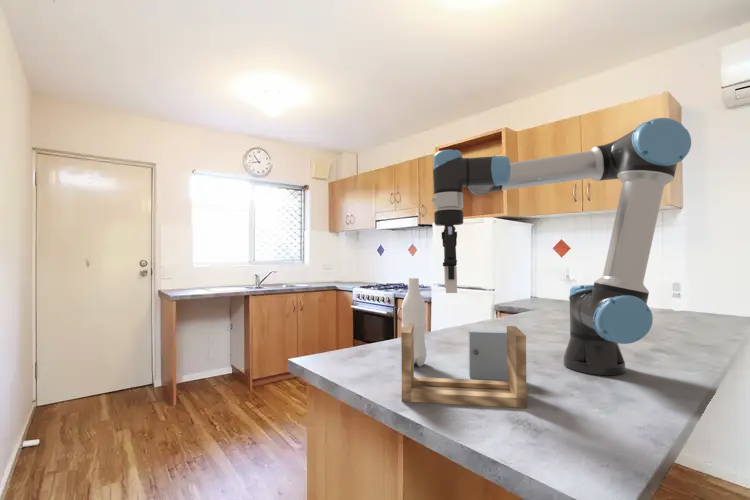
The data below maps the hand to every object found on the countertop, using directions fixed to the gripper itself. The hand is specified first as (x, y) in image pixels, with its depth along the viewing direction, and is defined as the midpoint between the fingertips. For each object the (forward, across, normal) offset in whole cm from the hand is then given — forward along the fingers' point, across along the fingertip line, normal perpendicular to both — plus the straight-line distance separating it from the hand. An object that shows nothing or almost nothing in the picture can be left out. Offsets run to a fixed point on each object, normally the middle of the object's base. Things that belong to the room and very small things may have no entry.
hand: (450, 290), depth 104 cm
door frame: (+22, +14, +1) cm, 27 cm away
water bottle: (+22, -9, -11) cm, 27 cm away
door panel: (+23, 0, +9) cm, 25 cm away
